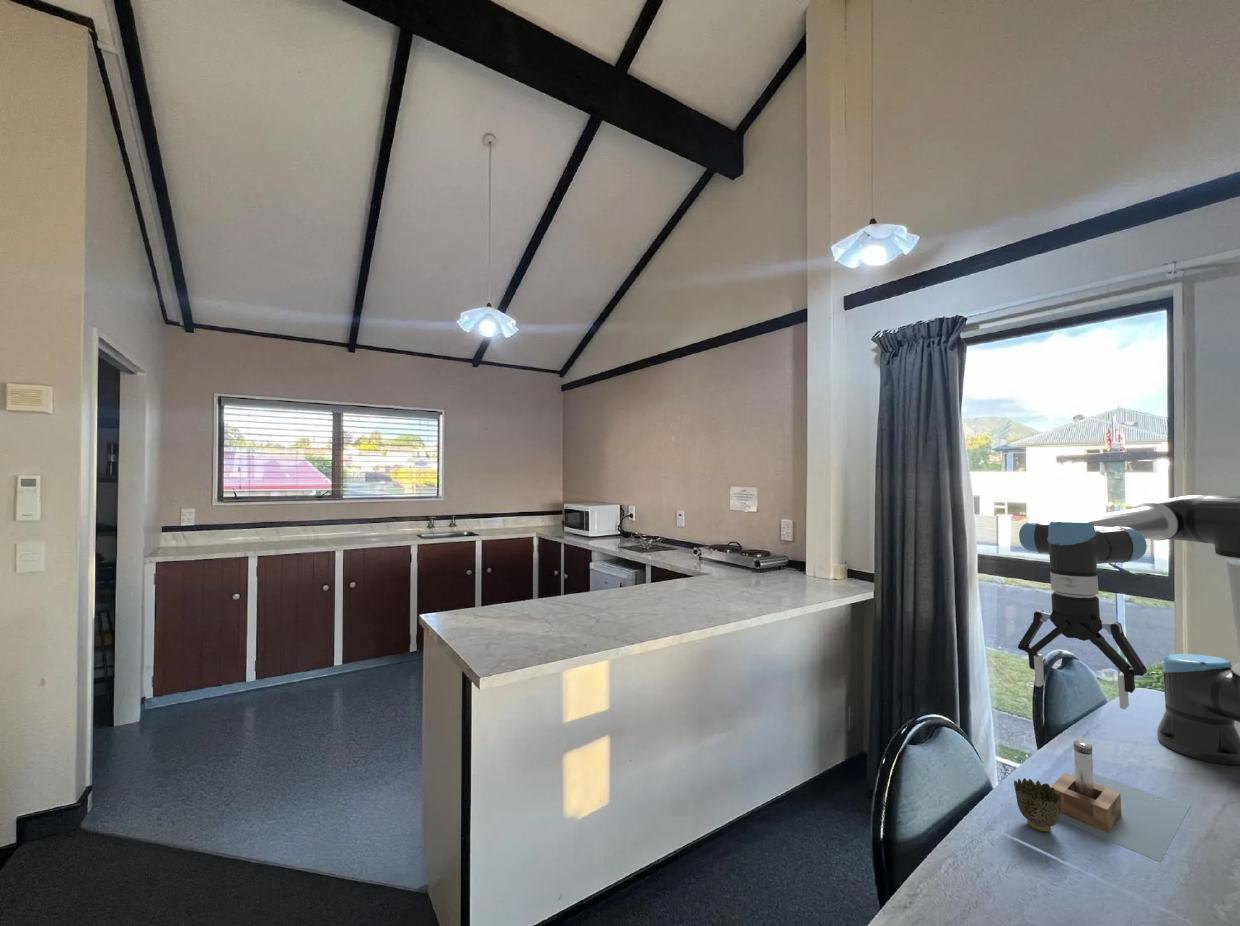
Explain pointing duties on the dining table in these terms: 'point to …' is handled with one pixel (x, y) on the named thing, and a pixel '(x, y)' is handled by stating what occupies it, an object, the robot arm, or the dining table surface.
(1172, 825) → the mat
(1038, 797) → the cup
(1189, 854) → the dining table surface
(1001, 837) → the dining table surface
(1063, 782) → the wooden block with hole
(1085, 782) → the metal cylinder rod
